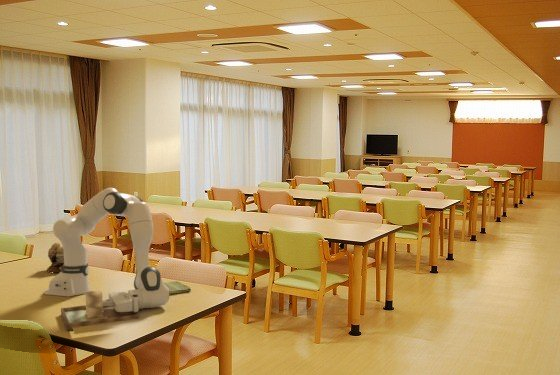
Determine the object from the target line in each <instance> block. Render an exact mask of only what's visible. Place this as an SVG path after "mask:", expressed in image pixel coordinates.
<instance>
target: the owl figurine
mask: <svg viewBox="0 0 560 375" xmlns="http://www.w3.org/2000/svg"><path fill="white" fill-rule="evenodd" d="M47 252H48V253H47V254H48V255H47V257H48V259H49V260H50V263H51V264H50V266H48V267H47V269H46V271H47V272H48V271H49V272H48V273H50V272H53V273H52V274H56V273H57V274H59V273H60V272H61V269H60V268H59V267H61V266H62V265H63V264H64V251H63V246H61V242H54V243H53V244H52V245H51V247H50V248H49V249H48V251H47Z"/></svg>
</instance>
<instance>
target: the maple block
mask: <svg viewBox="0 0 560 375" xmlns="http://www.w3.org/2000/svg"><path fill="white" fill-rule="evenodd" d="M102 300H103V293H102V291H101V290H93V291H92V290H91V291H90V292H86V293H85V305H86V310H85V314H86V315H87V317H88V318H91V319H97V318H96V317H99V318H104V317H103V312H104V311H103V310H102Z"/></svg>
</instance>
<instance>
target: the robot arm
mask: <svg viewBox="0 0 560 375" xmlns="http://www.w3.org/2000/svg"><path fill="white" fill-rule="evenodd" d="M109 214H111V215H116V216H119V217H127V220H128V227H129V228H128V229H129V233H130V237H131V241H132V242H131V243H132V247H133V252H134V261H135V262H134V263H135V273H136V274H135V277H134V281H133V288H134V289H129V290H127V293H126V292H125V291H112V292H108V298H107V299H102V306H113V307H114V309H115V310H116V312H131V311H133V312H134V313H138V312H139V310H141V309H145V308H151V309H152V308H157V307H162V306H165V305H166V304H167V303H168V302H169V300H170V296H171V295H170V292H169V288H168V287H167V286H166V285H165V284H164V283H165V281H164V280H163V278H162V276H161V273H160V271H159V269H157V267H154V266H150V258H149V250H150V247H151V244H152V242H153V240H154V232H155V231H154V230H155V228H154V222H153V221H154V220H153V216H152V212H151V209H150V207H149V205H148V203H146V202H145V201H144V199H142V198H141V197H139V196H136V195H133V194H130V193H125V192H124V193H123V192H119V190H117V189H116V188H114V187H107V188H105V189H103V190H101V191H98V193H97V194H95V195H94V196H92V198H90V199H89V200H87V202H85V203H84V204H83V205H82V206H81V210H80V211H79V212H78V213H76V214H74V215H71V216H70V215H69V216H65V217H62V218H60V219H59V220H57V221H55V223H54V224H53V225H52V226H53V227H52V233H53V235H54V237H56V238H57V239H58V240H59V241H60V245H62V247H63V251H64V264H63V265H62V266H61V267H59V268H60V269H61V272H60V273H57V274H56V275H55V276H54V277H53V278H51V280H50V281H49V283H48V288H46V289H45V290H44V291H43V295H48V296H49V295H50V296H59V297H74V296H78V295H86V292H91V291H92V289H91V284H90V281H89V270H90V269H89V263H88V248H87V247H86V246H85V245H83V242H82V239H81V237H83V236H87V235H89V234H90V233H92V232H93V231H94V230H95V228H96V226H97V224H98V223H99V222H100V221H102V220H103V218H105V217H106V216H107V215H109Z"/></svg>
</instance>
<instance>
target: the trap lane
mask: <svg viewBox="0 0 560 375" xmlns="http://www.w3.org/2000/svg"><path fill="white" fill-rule="evenodd" d="M102 310H103V317H102V318H100V317H96V318H95V319H92V318H88V317H87V315H86V312H85V311H86V304H84V305H77V306H76V305H75V306H68V307H61V308H60V315H61V318H62V321H63V325H64V326H65V329H66V331H67V332H72V331H74V329H73V328H76V327H77V328H78V327H83V326H84V327H85V326H91V325H99V324H107V323H117V322H122V321H131V320H137V319H139V318H140V315H139V314H136V312H133V311H131V312H116V310H115V309H114V307H113V306H102ZM105 317H106V318H105ZM97 318H99V319H97Z"/></svg>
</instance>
